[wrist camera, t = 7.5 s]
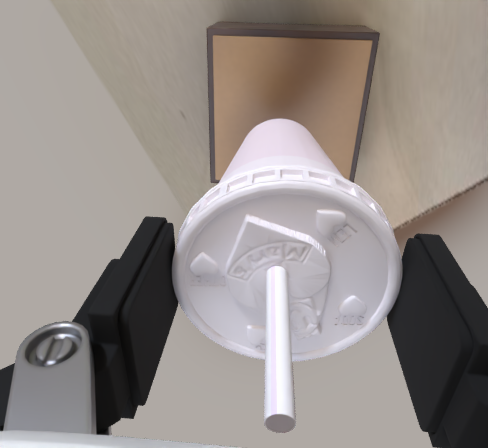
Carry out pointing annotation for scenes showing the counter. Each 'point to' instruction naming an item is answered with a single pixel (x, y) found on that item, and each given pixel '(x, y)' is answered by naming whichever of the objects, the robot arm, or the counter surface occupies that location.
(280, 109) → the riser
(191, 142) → the counter surface
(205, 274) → the smoothie
